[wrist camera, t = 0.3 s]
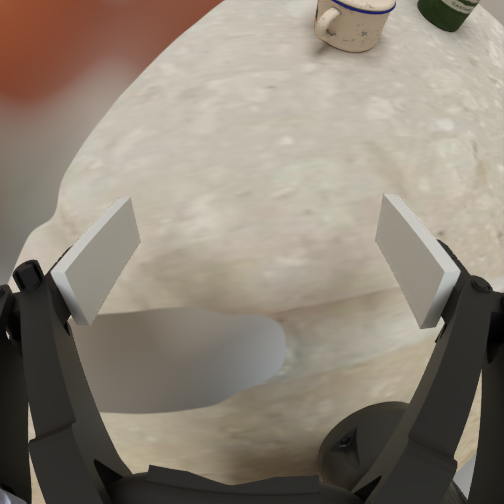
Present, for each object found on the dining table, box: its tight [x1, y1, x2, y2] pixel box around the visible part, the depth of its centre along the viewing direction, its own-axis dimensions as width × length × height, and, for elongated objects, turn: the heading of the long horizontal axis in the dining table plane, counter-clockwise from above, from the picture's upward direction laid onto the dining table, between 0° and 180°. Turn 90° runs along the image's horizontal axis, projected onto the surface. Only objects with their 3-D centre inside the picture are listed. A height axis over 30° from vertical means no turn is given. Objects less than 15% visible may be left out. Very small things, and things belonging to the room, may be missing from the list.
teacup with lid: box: [315, 0, 396, 52], centre depth 23 cm, size 12×9×12 cm
